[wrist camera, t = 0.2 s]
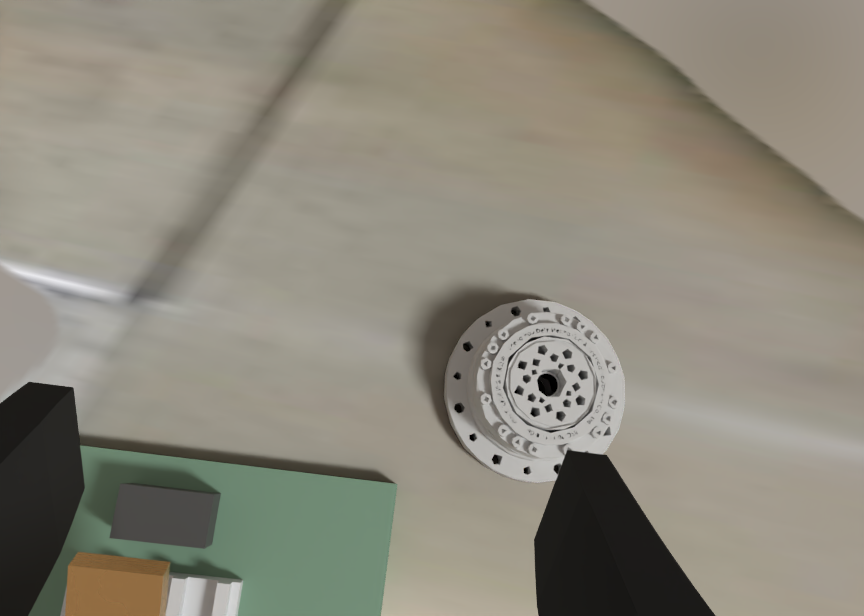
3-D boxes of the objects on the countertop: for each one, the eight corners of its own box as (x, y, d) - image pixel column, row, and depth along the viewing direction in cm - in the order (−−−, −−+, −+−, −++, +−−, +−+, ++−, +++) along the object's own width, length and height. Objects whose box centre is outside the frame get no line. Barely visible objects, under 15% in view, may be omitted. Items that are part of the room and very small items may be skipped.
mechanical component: (498, 272, 45) (409, 421, 42) (515, 251, 40) (416, 415, 38) (646, 362, 45) (564, 516, 42) (678, 351, 40) (589, 522, 38)
